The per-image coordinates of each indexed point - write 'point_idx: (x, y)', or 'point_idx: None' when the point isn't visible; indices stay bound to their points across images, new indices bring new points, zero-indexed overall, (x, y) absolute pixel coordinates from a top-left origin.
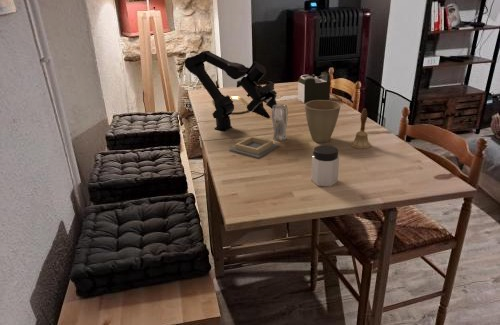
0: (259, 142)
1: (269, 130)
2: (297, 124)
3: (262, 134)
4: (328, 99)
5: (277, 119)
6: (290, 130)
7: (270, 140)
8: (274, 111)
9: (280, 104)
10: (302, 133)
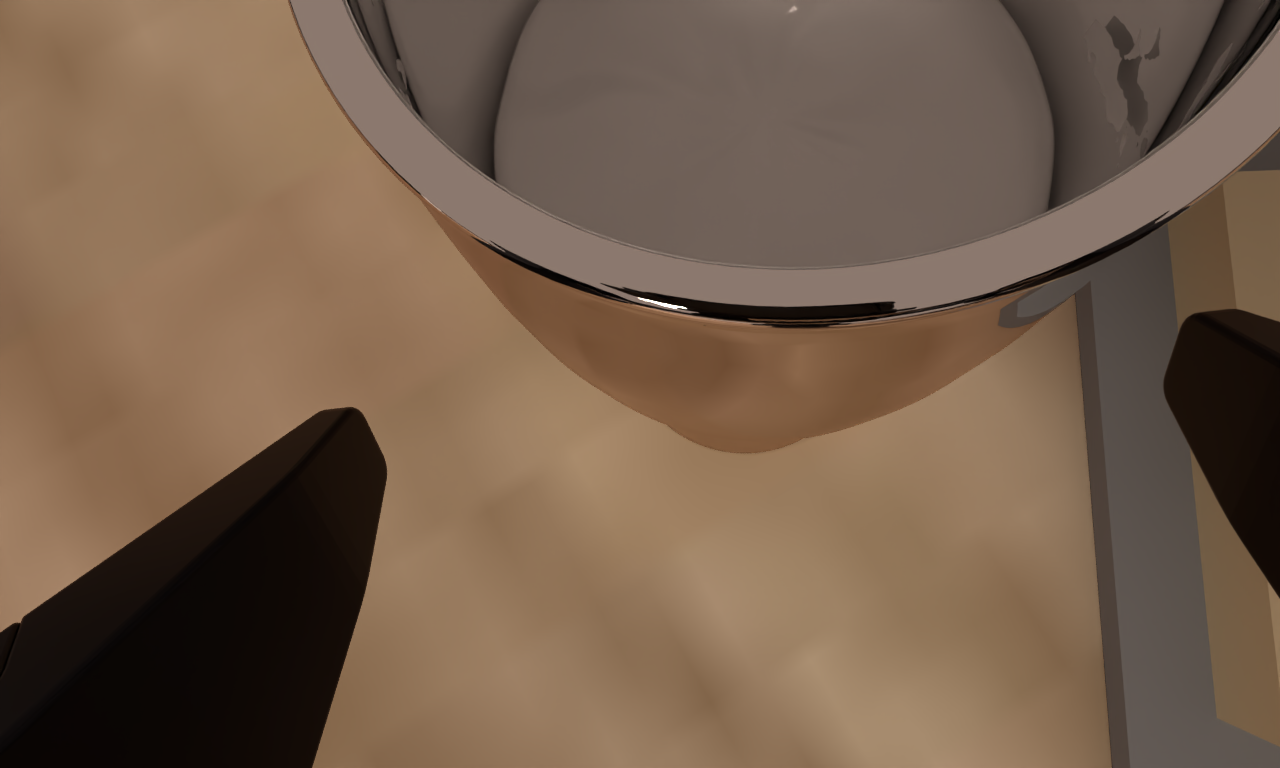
0: None
1: (478, 736)
2: (17, 451)
3: (726, 740)
4: None
5: (1042, 74)
6: (316, 399)
7: (1232, 227)
8: (1244, 8)
9: (346, 14)
10: (356, 167)
